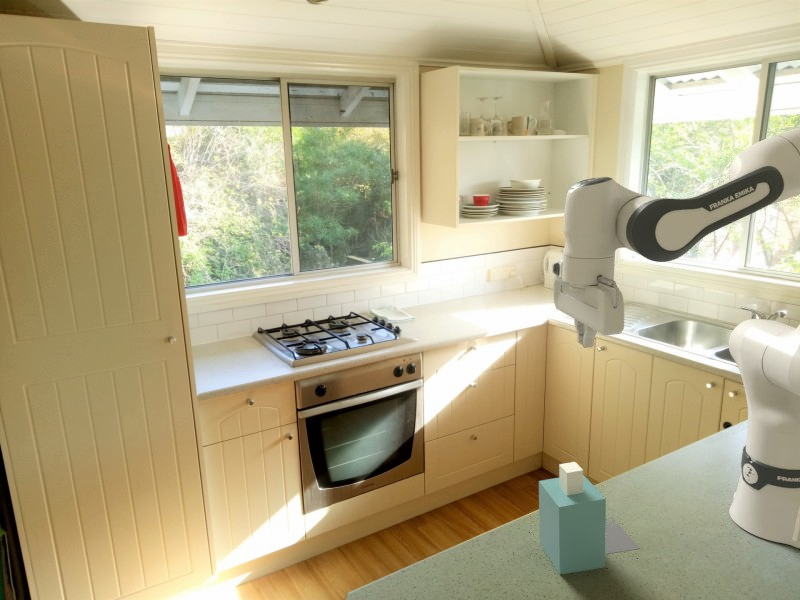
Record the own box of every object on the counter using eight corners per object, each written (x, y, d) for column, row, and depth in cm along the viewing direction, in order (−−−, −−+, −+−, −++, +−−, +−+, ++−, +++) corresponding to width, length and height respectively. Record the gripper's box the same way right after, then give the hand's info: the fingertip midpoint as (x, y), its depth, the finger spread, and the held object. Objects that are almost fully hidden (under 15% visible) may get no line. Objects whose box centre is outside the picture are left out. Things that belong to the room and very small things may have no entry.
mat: (612, 518, 119) (612, 517, 119) (640, 549, 110) (640, 548, 110) (565, 525, 118) (565, 524, 118) (589, 558, 108) (589, 556, 108)
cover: (582, 537, 113) (582, 452, 109) (605, 567, 105) (606, 475, 101) (540, 545, 112) (538, 459, 108) (559, 576, 104) (558, 483, 99)
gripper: (636, 280, 97) (632, 361, 100) (578, 260, 116) (576, 328, 120) (600, 283, 96) (597, 365, 99) (547, 262, 115) (546, 331, 119)
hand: (585, 344), depth 109 cm, fingers closed
